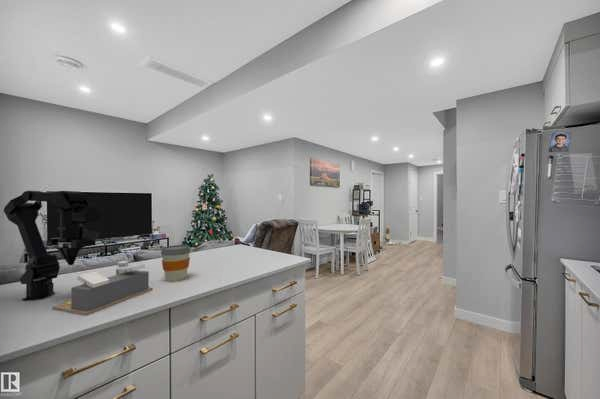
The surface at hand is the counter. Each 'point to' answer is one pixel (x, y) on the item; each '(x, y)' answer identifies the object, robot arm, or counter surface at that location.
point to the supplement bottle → (122, 266)
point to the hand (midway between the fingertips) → (71, 264)
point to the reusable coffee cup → (175, 262)
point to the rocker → (131, 268)
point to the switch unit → (106, 293)
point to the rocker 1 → (93, 279)
